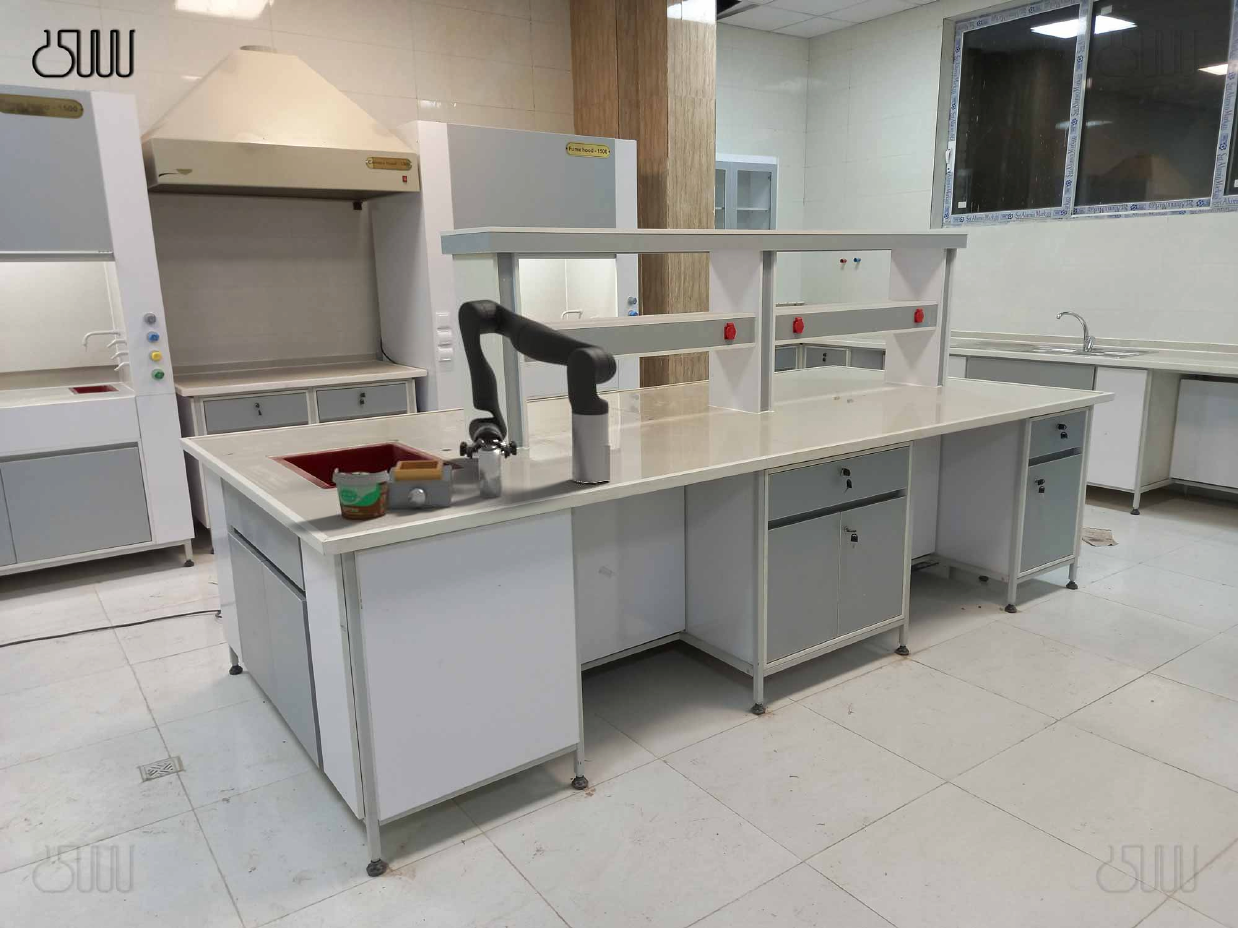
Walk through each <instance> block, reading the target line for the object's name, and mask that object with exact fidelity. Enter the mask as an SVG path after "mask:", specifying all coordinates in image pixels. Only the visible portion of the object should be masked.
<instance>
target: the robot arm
mask: <svg viewBox="0 0 1238 928" xmlns="http://www.w3.org/2000/svg"><path fill="white" fill-rule="evenodd" d="M457 316H458V318H457V319H458V326H459V332H460V335H461V340H462V345H463V348H464V353H465V356H466V360H467V361H466V362H467V364H468V369H469V374H470V381H471V382H470V384H471V392H472V393H471V394H472V404H473V407H474V408H473V409H476V410H478V411H484V412H488V413H490V414H491V416H492V417H491V416H490V417H489V416H488V417H477V418H474V419H472V420H471V421H470V422H469V425H468V435H469V437H470V440H471V441H472V443H471V444H468V442H466V441H461V442H460V444H459V456H460V457H465V456H466V458H469V460H473V459H474V458H473V457H477V458H478V449H481V448H482V446H481V445H480V444H479V442H478V441H477V440H478V439H479V438H481V439H482V441H483V442H484V443H485V444H486V445H496V446H497V448H500V449H501V457H503V456H504V457H503V458H504V459H508V458H509V457H511V455H512V456H518V445H517V442H516V441H514V440H511V441H510V442H508V443H505V442H504V440H505V439H506V437H507V434H508V428H507V425H506V422H505V419H504V417H503V414H502V411H501V407H500V404H499V403H500V402H499V395H498V383H497V377H496V375H495V372H494V370H493V368H492V366H491V365H490V363H489V362H488V360H487V358H486V356H485V354H484V352H483V349H482V344H481V335H488V334H497V335H500V336H503V337H506V338H507V339H509V340H510V343H511V345H512V347H513V348H514V349H515V351H517V352H518V353H520V354H521V355H524V356H526V357H528V358H530V359H533V360H535V361H538V362H542V363H547V364H552V365H560V366H564V367H566V380H567V381H566V382H567V396H568V401H569V404H570V408H571V470H572V471H571V477H572V479H573V480H575V481H580V482H581V481H582V482H588V483H593V482H599V481H604V480H610V481H611V444H610V441H609V439H610V436H609V435H610V434H609V433H610V432H609V429H610V428H609V426H610V425H609V422H610V421H609V419H610V418H609V417H610V416H609V412H610V411H609V409H610V407H609V402H608V401H607V400H606V399H604V398H601V397H600V396H599V394H598V389H597V385H601V384H604V383H607V382H609V381H610V380H612V379H613V378H614V377H615V375H616V374H617V366H618V365H617V361H616V358H615V356H614V355H613V353H611V352H610V351H609V350H608V349H606V348H604V347H602V346H600V345H594V344H590V343H587V342H584V341H581V340H578V339H576V338H573V337H571V336H568V335H567V334H565V333H563V332H560V331H558V330H556V329H553V328H552V327H549V326H547V325H545V324H543V323H542V322H541V323H540V322H539V321H535V320H533V319H530V318H528V317H526V316H523V315H520V314H517V313H516V312H514V311H511V310H510V309H508V308H507V307H505V306H503V305H502V304H500V303H498V302H497V301H494V300H491V299H478V300H470V301H465V302H463V303H462V304H461V305H460V306H459V308H458V313H457ZM573 480H572V481H573Z"/></svg>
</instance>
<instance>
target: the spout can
mask: <svg viewBox="0 0 1238 928" xmlns="http://www.w3.org/2000/svg"><path fill="white" fill-rule="evenodd" d="M477 441H478V442H479V444H480V445H481V446H482V448H481V449H478V456H477V458H478V461H477V462H478V481H479V482H478V485H479V487H478V489H479V491H478V492H479V497H480V498H483V499H498V498H500V496H501V497H502V496H503V486H502V485H503V483H502V481H503V480H502V456H501V449H500V448H497V446H496V445H486V444H485V443H484V442H483V441H482V439H481V438H479V439H478V440H477Z"/></svg>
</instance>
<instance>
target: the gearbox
mask: <svg viewBox="0 0 1238 928" xmlns="http://www.w3.org/2000/svg"><path fill="white" fill-rule="evenodd" d="M388 474H389V478H390V480H387V490H386V510H403V509H404V510H408V509H434V508H438V509H439V508H451V506H452V500H453V499H452V498H453V492H454V487H453V486H454V484H453V466H452V465H444V460H443V459H438V460H437V459H435V460H434V459H432V460H429V459H428V460H403V461H402V460H398V462H397V463H396V465H395V466H393V467H391V468H390V470H389V473H388Z"/></svg>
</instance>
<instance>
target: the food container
mask: <svg viewBox="0 0 1238 928" xmlns="http://www.w3.org/2000/svg"><path fill="white" fill-rule="evenodd" d="M387 480H390V478H389V473H388V470H387V469H386V470H383V471H380V472H375V473H372V472H368V471H355V472H345V471H344V472H340V471H339V468H338V467H337V468H335V469H334V472H333V474H332V482H333V483H334V484H336V489H337V490H336V491H337V496H338V501H339V508H340V513H341V517H342V518H343V519H344V520H347V521H356V520H357V522H358V521H360V522H361V521H370V520H374V519H375V520H376V519H379V518H382V517H385V516H386V511H387V509H386V490H387Z"/></svg>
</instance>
